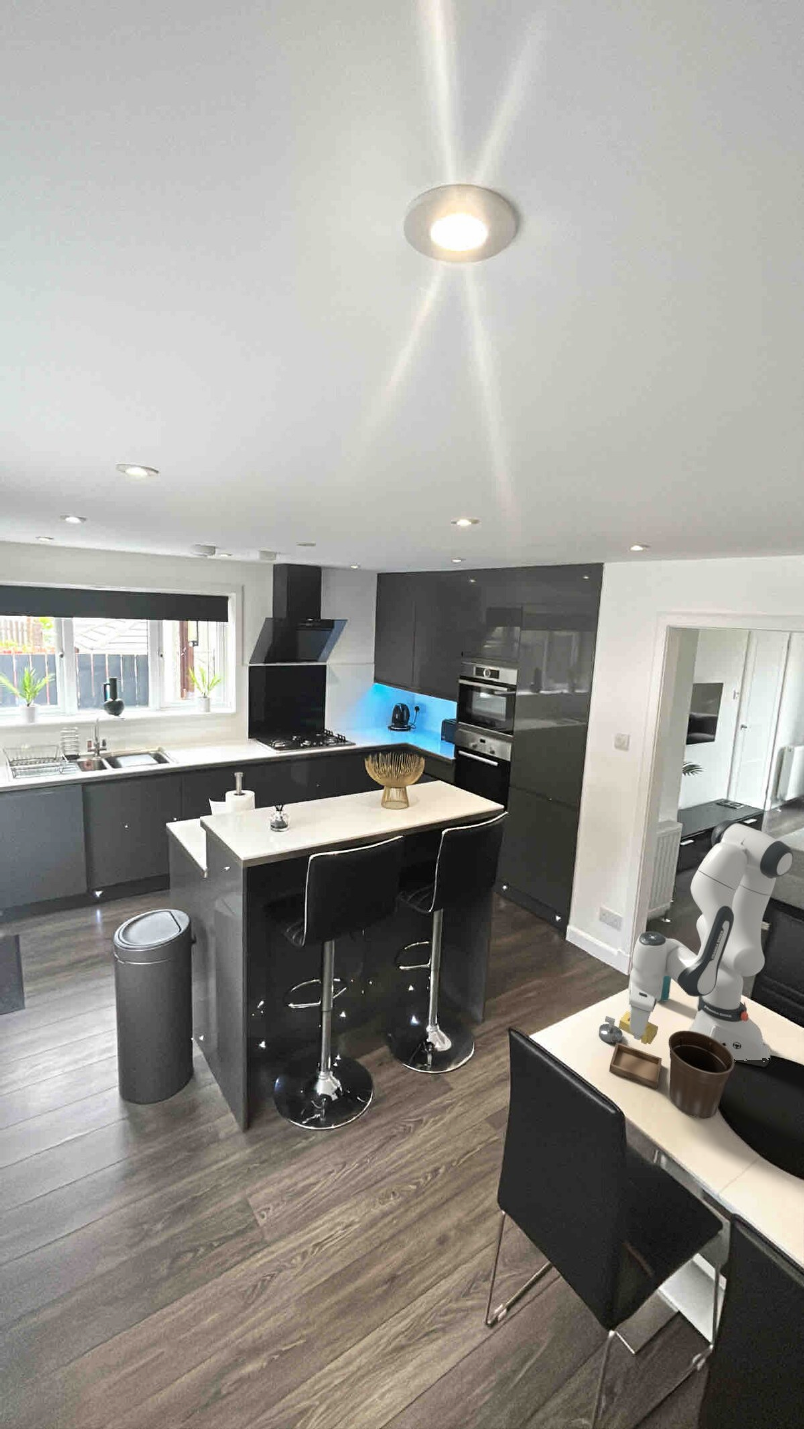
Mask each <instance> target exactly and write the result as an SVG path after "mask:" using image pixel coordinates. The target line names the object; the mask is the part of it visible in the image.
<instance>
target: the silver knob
mask: <svg viewBox="0 0 804 1429" xmlns="http://www.w3.org/2000/svg"><path fill="white" fill-rule="evenodd" d="M604 1022H605V1023H602V1024H601V1025H600V1026H598V1027H599V1028H598V1037H599V1038H600V1040H602V1041H603V1042H604V1043H606V1044H608V1045H612V1046H614V1045H615V1046H616V1043H620V1044H622V1041H623V1035H624V1034H623V1030H622V1029H620V1028H619V1026H617V1025H615V1023H616V1018H613V1017H610V1016H607V1015H605V1019H604Z"/></svg>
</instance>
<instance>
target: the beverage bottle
mask: <svg viewBox="0 0 804 1429" xmlns="http://www.w3.org/2000/svg"><path fill="white" fill-rule="evenodd" d="M672 980H673V979H672V978H671V977H669V976H664V978H663V987H662V994H661V999H660V1000H659V1001H660V1002H661V1001H665V1002H666V1001H667V1000H668V999H669V998H670V992H671V984H672Z"/></svg>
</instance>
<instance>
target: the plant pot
mask: <svg viewBox="0 0 804 1429" xmlns="http://www.w3.org/2000/svg"><path fill="white" fill-rule="evenodd" d="M668 1048H669V1059H670V1063H669V1064H670V1066H669V1083H668V1084H669V1085H668V1086H669V1087H668V1094H669V1098H670V1101H671V1102H672V1103H673V1105H674V1106H675V1107H676V1108H677V1109H679V1110H680V1111H681V1112H682V1113H684V1114H685V1115H687V1116H689V1117H698V1118H699V1119H700V1120H706V1119H710V1118H713V1117H714V1116H715V1115H716V1114H717V1112H718V1108H719V1105H720V1102H721V1099H722V1095H723V1091H724V1089H725V1084H726V1082H727V1080H728V1079H729V1076H730V1073H731V1071H733V1069H734V1068H735V1067H734V1066H735V1061H734V1059H733V1056H732V1054H731V1053H730V1052H729V1050H728V1049H727V1048H726V1047H725V1046H724V1045H722V1044H721V1043H720V1042H718V1041H717V1040H715V1039H713V1038H711V1037H709V1036H707V1035H705V1034H702V1033H698V1032H694V1031H690V1030H678V1031H676V1032H674V1033H672V1034H671V1035H670V1036H669V1038H668Z"/></svg>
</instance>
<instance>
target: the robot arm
mask: <svg viewBox="0 0 804 1429" xmlns="http://www.w3.org/2000/svg"><path fill="white" fill-rule="evenodd" d="M710 841H711V846H712V848H711V849H710V850H709V851H708V853H707V854H706V855H705V857H704V858H703V860H702V862H701V863H700V865H699V866H698V869H697V870H696V872H695V874H694V875H693V878H692V879H691V884H690V893H691V896H692V898H693V901H694V903H695V904H696V905H697V907H698V908H699V910H700V911H701V913H702V914H701V915H700V916H699V917H698V919H697V921H696V925H695V926H696V930H697V932H698V936H699V940H700V945H701V946H700V948H699V951H698V954H696V953H695V952H693V951H691V950H690V948H688V947H687V946H686V945H684V944H683V943H682V942H681V941H679V940H677V939H676V938H672V937H671V938H670V937H669V938H667V937H666V936H664V935H663V934H661V933H660V932H657V931H653V930H652V931H649V930H648V931H645V932H641V933H640V934H639V936H638V937H637V939H636V941H635V945H634V949H633V953H632V954H633V955H632V969H631V971H630V974H629V982H628V987H627V988H628V993H629V998H628V1005H630V1008H629V1009H630V1010H629V1012H630V1032H631V1033H633V1034H634V1036H633V1038H634V1039H635V1040H637V1041H641V1039H640V1038H641V1036H643V1035H644V1033H645V1030H646V1027H647V1023H648V1022H649V1018H650V1016H651V1013H653V1012H654V1009H655V1007H656V1005H657V1003H658V1002H659V1001H661V1000H660V999H661V994H662V987H663V978H664V976H669V977H671V978H672V979H671V980H673V981H674V982H675V983H676V984H677V985H678V986H679V987H680V988H681V990H683V992H685V994H686V995H688V996H689V997H695V998H697V1004H696V1006H697V1007H696V1008H697V1010H696V1014H695V1017H694V1020H693V1022H692V1024H691V1025H690V1027H689V1031H694V1032H698V1033H702V1034H705V1035H707V1036H709V1037H711V1038H713V1039H715V1040H717V1041H718V1042H720V1043H721V1044H722V1045H724V1046H725V1047H726V1048H727V1049H728V1050H729V1052H730V1053H731V1054H732V1056H733V1059H735V1060H744V1061H747V1060H762V1058H766V1059H767V1060H769V1059H768V1058H770V1059H771V1051H770V1047H769V1045H768V1043H767V1042H766V1040H765V1039H764V1037H763V1033H762V1031H761V1028H760V1026H759V1025H758V1024H757V1023H756V1022H754V1021H753V1020H752V1019H751V1018H750V1017H749V1014H748V1012H747V1010H748V1007H747V1006H746V1002H745V1001H744V1002H742V1001H741V999H742V994H743V988H744V987H743V986H744V979H743V977H751V976H755V975H756V974H758V973H760V972H761V970H762V969H763V968H764V966H765V960H766V959H765V955H764V952H763V948H762V923H763V918H764V915H765V911H766V908H767V906H768V903H769V901H770V898H771V896H772V894H773V892H774V887H775V884H776V880H777V878H779V877H782V876H784V875H786V873H788V872H789V870H790V868H791V867H792V864H793V862H794V853H793V850H792V848H791V847H790V846H789V845H787V844H785V843H784V842H783V841H781V840H778V839H775V838H774V837H772V836H771V835H769V834H767V833H765V832H763V831H761V830H757V829H756V828H753V827H750V826H747V825H744V824H742V823H740V822H738V821H734V820H732V819H725V820H723V821H721V822H719V823H718V824H717V825H716V826H715V827H714V829H713V830H712V833H711V840H710ZM746 1059H747V1060H746ZM763 1062H765V1061H763Z"/></svg>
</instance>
